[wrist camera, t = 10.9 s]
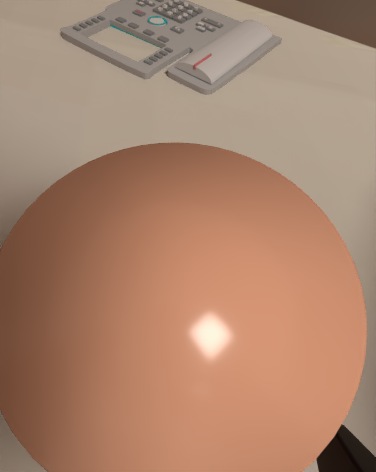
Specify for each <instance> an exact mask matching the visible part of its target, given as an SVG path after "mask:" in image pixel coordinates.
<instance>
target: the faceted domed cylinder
mask: <svg viewBox="0 0 376 472" xmlns="http://www.w3.org/2000/svg"><path fill="white" fill-rule="evenodd" d="M366 342H367V321H366V307H365V302H364V297H363V292H362V286H361V283H360V280H359V277H358V274H357V270H356V267H355V264H354V262H353V260H352V258H351V255H350V253H349V251H348V249H347V247H346V245H345V243H344V241H343V240H342V238H341V236H340V235H339V233H338V231H337V230H336V228H335V226H334V225H333V224H332V223H331V221H330V220H329V219H328V217H327V216H326V215H325V213H324V212H323V211H322V210H321V209H320V208H319V206H318V205H317V204H316V203H315V202H314V201H313V200H312V199H311V198H310V197H309V196H308V195H307V194H306V193H304V192H303V191H302V190H301V189H300V188H299V187H297V186H296V185H295V184H294V183H293V182H291V181H290V180H288V179H287V178H285V177H284V176H283V175H281V174H280V173H278V172H276V171H275V170H273V169H271V168H269V167H268V166H266V165H264V164H262V163H260V162H258V161H255V160H253V159H251V158H249V157H247V156H244V155H241V154H238V153H235V152H232V151H229V150H225V149H221V148H217V147H213V146H207V145H200V144H191V143H157V144H148V145H141V146H136V147H131V148H126V149H123V150H119V151H116V152H113V153H110V154H107V155H104V156H102V157H100V158H97V159H95V160H92V161H90V162H88V163H86V164H84V165H82V166H81V167H79V168H77V169H75V170H73V171H72V172H70V173H69V174H67V175H66V176H64V177H63V178H61V179H60V180H58V181H57V182H56V183H54V184H53V185H52V186H51V187H50V188H48V189H47V190H46V191H45V192H44V193H43V194H41V195H40V196H39V197H38V198H37V200H36V201H35V202H34V203H33V204H32V205H31V206H30V207H29V208H28V209H27V210H26V211H25V213H24V214H23V215H22V217H21V218H20V219H19V221H18V222H17V223H16V224H15V226H14V227H13V229H12V230H11V232H10V234H9V236H8V237H7V239H6V241H5V242H4V244H3V246H2V248H1V250H0V410H1V412H2V414H3V416H4V418H5V419H6V421H7V423H8V425H9V427H10V429H11V431H12V432H13V434H14V435H15V436H16V437H17V439H18V440H19V441H20V443H21V444H22V445H23V446H24V448H25V449H26V450H27V451H28V453H29V454H30V455H31V457H32V458H33V459H34V460H36V461H37V462H38V463H39V464H40V465H41V466H42V467H43V468H44V469H46V470H47V471H48V472H302V471H303V470H304V469H306V468H307V467H308V466H309V465H310V464H311V463H313V462H314V461H315V460H316V458H317V457H318V456H319V455H320V453H321V452H322V451H323V450H324V449H325V447H326V446H327V445H328V444H329V443H330V441H331V440H332V439H333V438H334V436H335V435H336V433H337V431H338V429H339V428H340V426H341V424H342V422H343V421H344V419H345V417H346V416H347V414H348V412H349V410H350V408H351V405H352V402H353V400H354V397H355V395H356V392H357V389H358V387H359V384H360V380H361V375H362V371H363V366H364V362H365V355H366Z"/></svg>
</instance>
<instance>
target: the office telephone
mask: <svg viewBox="0 0 376 472" xmlns="http://www.w3.org/2000/svg"><path fill="white" fill-rule="evenodd" d="M110 26H111V27H114V28H116V29H119V30H121V31H123V32H126V33H128V34H130V35H132V36H135V37H137V38H139V39H142V40H144V41H146V42H148V43H151V44H153V45H155V46H157V47H160V48H162V49H160V50H158V51H157V52H155V53H153V54H151V55H150V56H148V57H146V58H144V59H142V60H141V61H139V62H136V61H134V60H132V59H130V58H128V57H126V56H124V55H121V54H119V53H117V52H115V51H113V50H111V49H109V48H107V47H105V46H103V45H101V44H99V43H97V42H95V41H93V40H91V39H89V38H87V37H89V36H91V35H93V34H95V33H97V32H99V31H101V30H103V29H105V28H108V27H110ZM60 31H61V34H62V38H63V39H65V40H66V41H68V42H70V43H72V44H74V45H76V46H78V47H80V48H82V49H84V50H86V51H88V52H90V53H92V54H93V55H95V56H97V57H99V58H101V59H103V60H105V61H107V62H109V63H111V64H113V65H115V66H117V67H119V68H121V69H123V70H125V71H127V72H130V73H132V74H134V75H136V76H139V77H141V78H143V79H150V78H151V77H152V76H153V75H154V74H156V73H157V72H159V71H160V70H162V69H163V68H165V67H166V66H168V65H169V64H171V63H173V62H174V61H176V60H177V59H179V58H181V57H182V56H184V55H185V54H187V53H190V54H189V55H187V56H186V57H184V58H183V59H181V60H180V61H178V62H177V63H175V64H174V65H172V66H171V67H169V68H168V69H167V76H168V77H169V78H171V79H173V80H175V81H177V82H179V83H181V84H183V85H185V86H187V87H189V88H191V89H193V90H195V91H197V92H199V93H202V94H205V95H209V94H212V93H214V92H215V91H217V90H218V89H220V88H221V87H223V86H224V85H225V84H227V83H228V82H230V81H231V80H232V79H233V78H235V77H236V76H237V75H239V74H241V73H242V72H244V71H245V70H246V69H248V68H249V67H250V66H251V65H253V64H254V63H255V62H257V61H258V60H259V59H260V58H262V57H263V56H264V55H266V54H267V53H268V52H270V51H271V50H272V49H273V48H275V47H276V46H277V45H279V44H280V43H281V40H282V39H281V38H279V37H277V36H274V35H272V33H271V31H270V29H269V28H268V27H266V26H265V25H263V24H262V23H260V22H257V21H254V20H245V21H243V22H239V21H237V20H234V19H232V18H229V17H227V16H224V15H222V14H219V13H217V12H214V11H212V10H209V9H207V8H204V7H202V6H199V5H197V4H194V3H192V2H189V1H187V0H120V1H118V2H115V3H113V4H111V5H109V6H107V7H106V11H104V12H102V13H100V14H97V15H95V16H93V17H91V18H88V19H86V20H84V21H81V22H79V23H77V24H74V25H72V26H69V27H64V28H61V29H60Z"/></svg>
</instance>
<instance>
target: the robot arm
mask: <svg viewBox="0 0 376 472" xmlns="http://www.w3.org/2000/svg"><path fill="white" fill-rule="evenodd" d="M316 459H317V464H318V469H319V472H376V457H375V456H374V455H373V454H372V453H371V452H370V451H369V450H368V449H367V448H366V447H365V446H364V445H363V444H362V443H361V442H360V441H359V440H358V439H357V438H356V437H355V436H354V435H353V434H352V433H351V432H350V431H349V430H348V429H347V428H346V427H345V426H344V425H342V424H341V426H340V428H339V429H338V431H337V433H336V435H335V436H334V438H333V439H332V440H331V441H330V443H329V444H328V445H327V446H326V447H325V449H324V450H323V451H322V452H321V453H320V455H319V456H318V457H317V458H316Z"/></svg>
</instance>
